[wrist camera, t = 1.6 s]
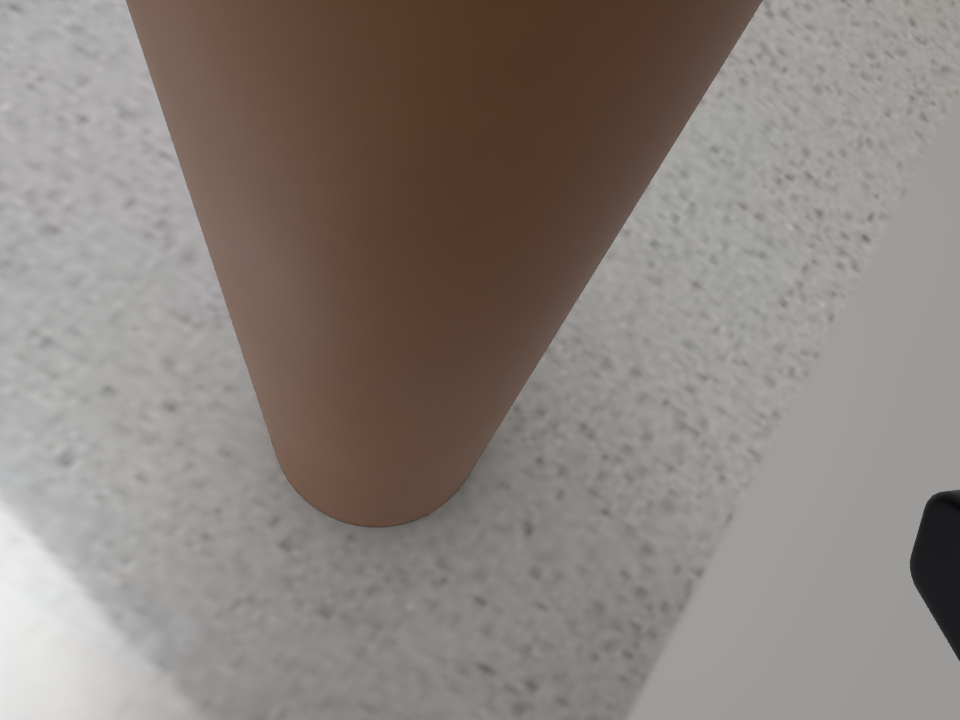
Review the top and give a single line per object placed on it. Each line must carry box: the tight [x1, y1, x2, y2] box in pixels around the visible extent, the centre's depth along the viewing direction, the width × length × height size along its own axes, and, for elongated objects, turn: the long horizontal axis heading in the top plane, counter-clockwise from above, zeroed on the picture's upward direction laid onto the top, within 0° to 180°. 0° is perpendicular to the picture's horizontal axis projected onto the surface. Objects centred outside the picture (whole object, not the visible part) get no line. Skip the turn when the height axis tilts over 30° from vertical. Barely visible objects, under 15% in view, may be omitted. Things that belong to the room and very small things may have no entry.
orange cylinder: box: [126, 0, 763, 527], centre depth 11 cm, size 5×5×20 cm
